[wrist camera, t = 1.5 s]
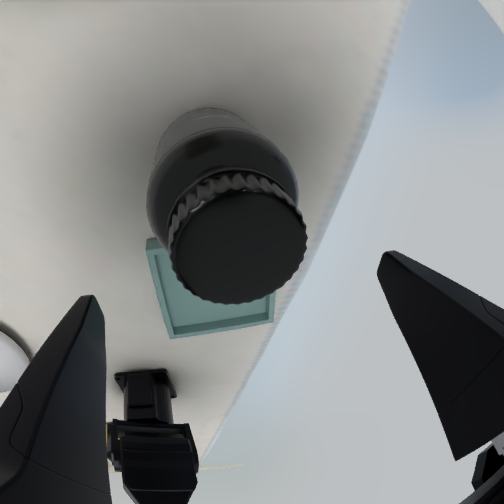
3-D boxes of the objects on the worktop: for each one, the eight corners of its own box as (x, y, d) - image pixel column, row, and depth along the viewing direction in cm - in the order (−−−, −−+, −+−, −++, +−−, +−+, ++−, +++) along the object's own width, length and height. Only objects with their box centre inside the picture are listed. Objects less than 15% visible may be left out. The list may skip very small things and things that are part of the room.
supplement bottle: (226, 88, 17) (298, 110, 8) (270, 169, 21) (356, 268, 12) (136, 142, 18) (95, 233, 8) (189, 217, 22) (211, 347, 12)
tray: (268, 311, 30) (273, 322, 28) (168, 327, 28) (169, 339, 26) (273, 223, 24) (279, 232, 23) (146, 239, 22) (145, 250, 21)
